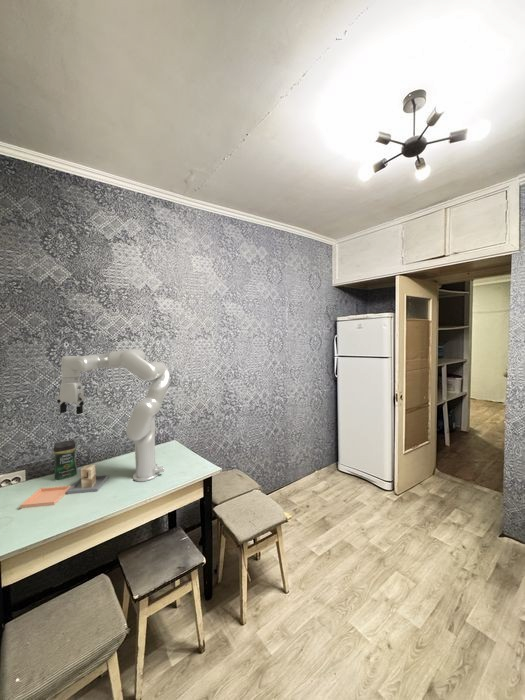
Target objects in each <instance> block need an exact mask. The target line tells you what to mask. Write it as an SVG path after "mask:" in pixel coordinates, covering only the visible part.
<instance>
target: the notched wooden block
mask: <svg viewBox="0 0 525 700" xmlns="http://www.w3.org/2000/svg"><path fill="white" fill-rule="evenodd" d="M96 470H97V469H96V464H89V465H84V466H83V467H82V468H80V478H81V483H82V488H90V487H93V486H94V484H95V483H96V476H97V472H96Z"/></svg>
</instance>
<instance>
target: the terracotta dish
mask: <svg viewBox="0 0 525 700" xmlns="http://www.w3.org/2000/svg"><path fill="white" fill-rule="evenodd" d="M71 487H72V485H64V486H63V485H61V486H52V487H51V486H49V487H41V488H39V489H37V491H35V492H34V493H33V494H31V495H30V496H29V497H28V498H27V499H26V500H24V501H23V502H22V503H21V504H20V505H19V509H20V510H22V509H28V508H38V507H48V506H55V505H56V504H57V503H58V502H59V501H60V500H61V499H62V498H63V497H64V496H66V495H67V490H68V489H70V488H71Z"/></svg>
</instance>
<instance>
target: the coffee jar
mask: <svg viewBox="0 0 525 700" xmlns="http://www.w3.org/2000/svg"><path fill="white" fill-rule="evenodd" d="M76 449H77V446H76V441H75V440H74V439H72V440H65V441H61V442H60V441H59V442H55V444H54V448H53V454H54V456H55V465H54V479H55V480H57V481H59V480H64V479H68V478H73V477H75V476H76V475H77V474H78V467H77V462H76Z"/></svg>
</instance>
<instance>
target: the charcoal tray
mask: <svg viewBox="0 0 525 700" xmlns="http://www.w3.org/2000/svg"><path fill="white" fill-rule="evenodd" d="M109 478H110V474H100V475H96V483H95V484H94V486H93V487H90V488H82V483H81V477H80V478H79V479H77V480H76V482H74V483H73V485H71V488H70V489H68V490H67V493H66V495H74V494H85V493H96V492H99V491H100V489H101V488H102V487H103V485H104V484H105V483H106V482H107V480H108V479H109Z"/></svg>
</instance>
